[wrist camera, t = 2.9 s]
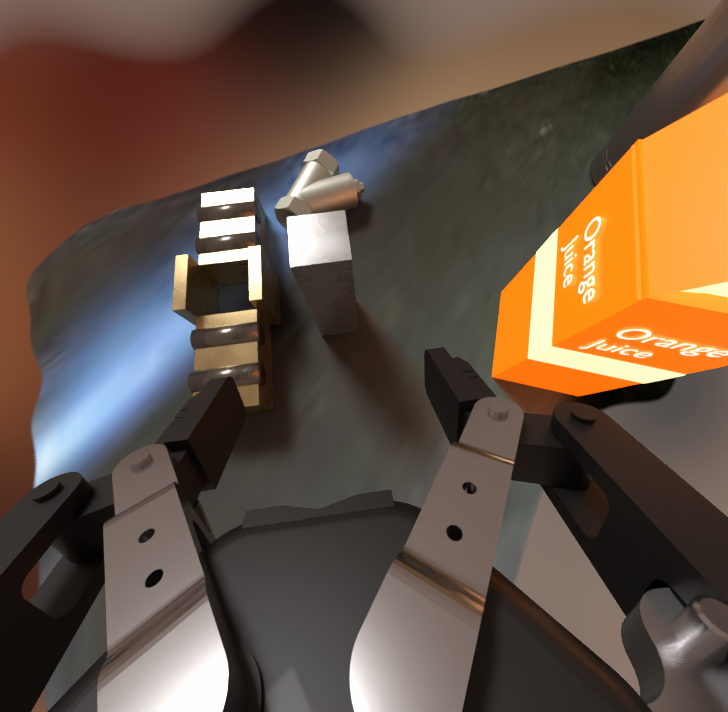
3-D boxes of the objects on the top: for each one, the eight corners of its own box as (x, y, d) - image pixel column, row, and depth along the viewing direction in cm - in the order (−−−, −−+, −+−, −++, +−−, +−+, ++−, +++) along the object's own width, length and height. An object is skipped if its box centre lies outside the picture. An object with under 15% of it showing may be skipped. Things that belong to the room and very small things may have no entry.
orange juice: (490, 377, 25) (888, 171, 6) (499, 291, 27) (804, -56, 8) (581, 397, 24) (1371, 240, 5) (583, 307, 27) (1126, -28, 8)
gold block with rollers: (275, 214, 30) (258, 172, 26) (285, 408, 24) (265, 400, 20) (211, 222, 30) (181, 181, 26) (205, 419, 24) (164, 413, 20)
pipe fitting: (367, 197, 32) (312, 176, 32) (369, 165, 28) (308, 142, 28) (338, 253, 30) (280, 230, 30) (337, 227, 26) (271, 201, 26)
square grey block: (354, 298, 27) (344, 210, 17) (358, 331, 26) (351, 259, 16) (318, 302, 27) (286, 216, 17) (321, 336, 26) (290, 267, 16)
